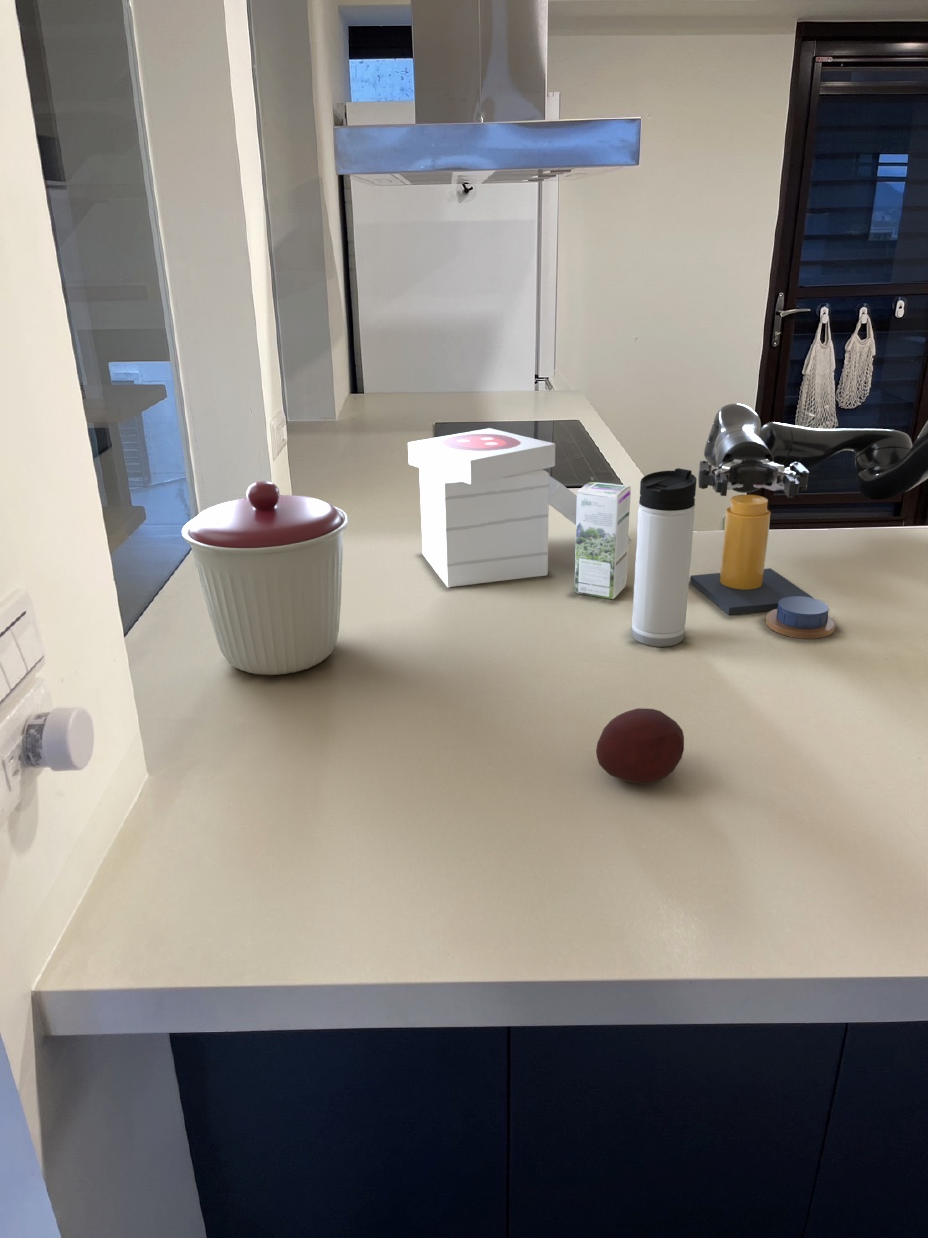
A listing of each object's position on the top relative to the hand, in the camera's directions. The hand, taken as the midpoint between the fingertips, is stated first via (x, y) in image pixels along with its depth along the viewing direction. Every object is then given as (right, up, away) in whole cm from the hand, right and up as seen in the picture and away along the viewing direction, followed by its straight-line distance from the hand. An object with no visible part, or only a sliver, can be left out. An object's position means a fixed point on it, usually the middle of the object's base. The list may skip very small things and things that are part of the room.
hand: (758, 489), depth 119 cm
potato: (-22, -31, -36) cm, 53 cm away
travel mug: (-15, -19, -9) cm, 26 cm away
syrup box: (-20, -13, +5) cm, 25 cm away
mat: (0, -14, +3) cm, 14 cm away
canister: (-60, -22, -12) cm, 65 cm away
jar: (-1, -12, +4) cm, 13 cm away
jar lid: (+3, -16, -8) cm, 18 cm away
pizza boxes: (-31, -8, +18) cm, 36 cm away
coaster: (+3, -18, -7) cm, 19 cm away
